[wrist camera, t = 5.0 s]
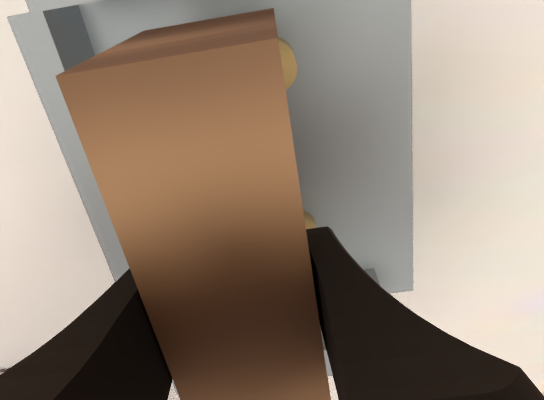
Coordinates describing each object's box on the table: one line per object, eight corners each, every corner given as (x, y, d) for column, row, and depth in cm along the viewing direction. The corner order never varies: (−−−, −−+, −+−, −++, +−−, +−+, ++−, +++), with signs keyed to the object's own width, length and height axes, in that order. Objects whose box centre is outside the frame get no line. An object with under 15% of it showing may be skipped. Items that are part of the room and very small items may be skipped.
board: (319, 321, 18) (340, 469, 13) (228, 333, 18) (212, 483, 13) (273, 7, 12) (278, 37, 7) (143, 30, 13) (55, 76, 7)
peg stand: (407, 278, 24) (446, 365, 19) (162, 310, 25) (135, 401, 20) (402, -111, 16) (469, -150, 11) (35, -43, 17) (-70, -47, 12)
